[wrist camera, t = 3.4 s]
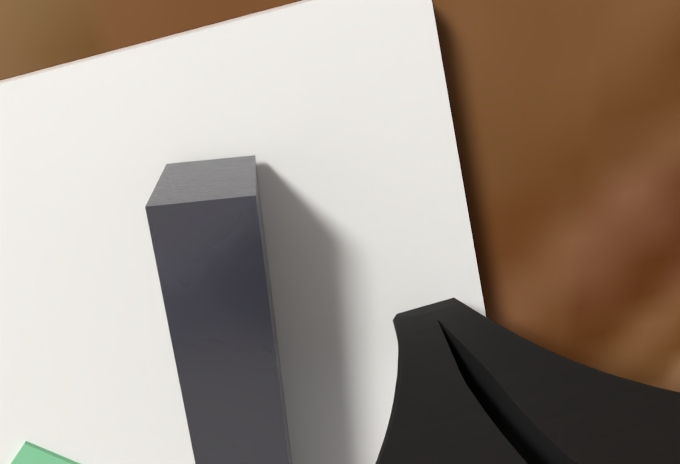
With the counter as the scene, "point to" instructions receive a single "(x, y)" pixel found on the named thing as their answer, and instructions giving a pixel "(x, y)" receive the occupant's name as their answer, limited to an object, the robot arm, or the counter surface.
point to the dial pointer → (220, 309)
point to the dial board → (278, 218)
